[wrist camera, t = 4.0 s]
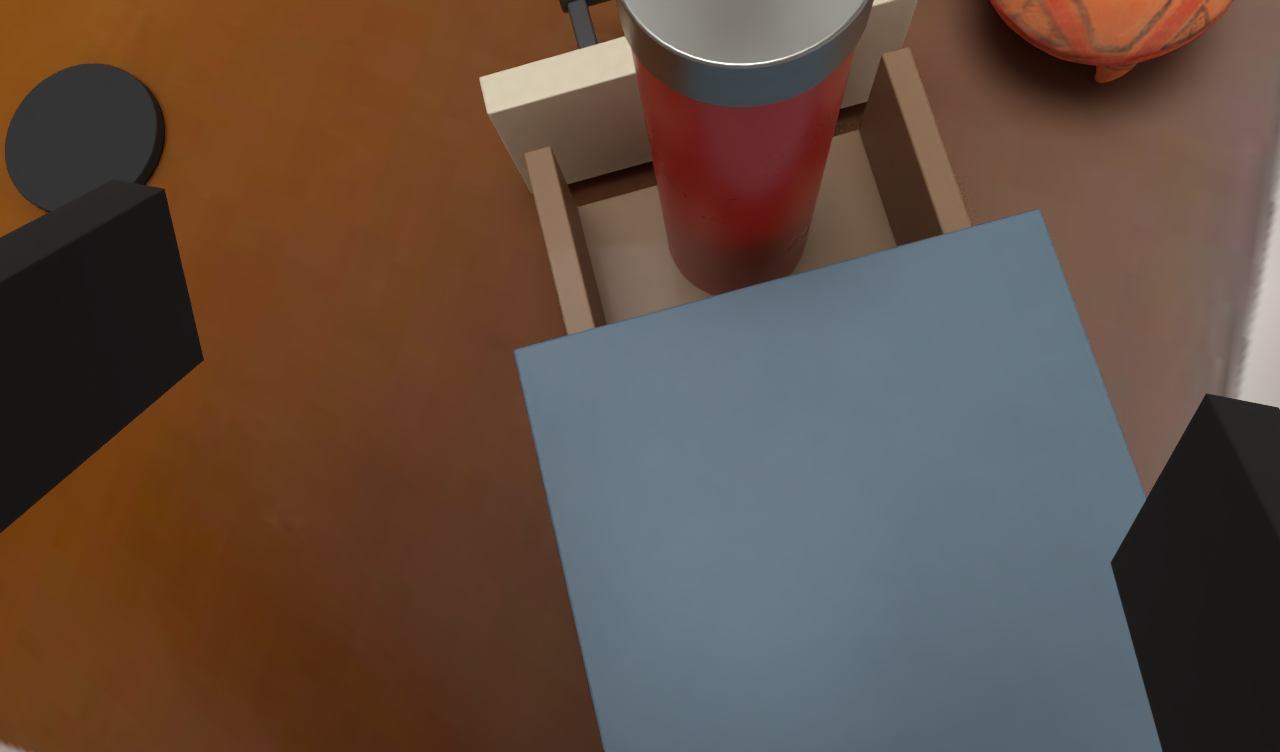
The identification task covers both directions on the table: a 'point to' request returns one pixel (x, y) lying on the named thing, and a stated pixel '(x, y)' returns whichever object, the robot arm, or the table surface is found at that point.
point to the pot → (1109, 28)
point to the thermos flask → (740, 124)
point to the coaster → (83, 134)
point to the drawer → (633, 222)
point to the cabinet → (849, 510)
